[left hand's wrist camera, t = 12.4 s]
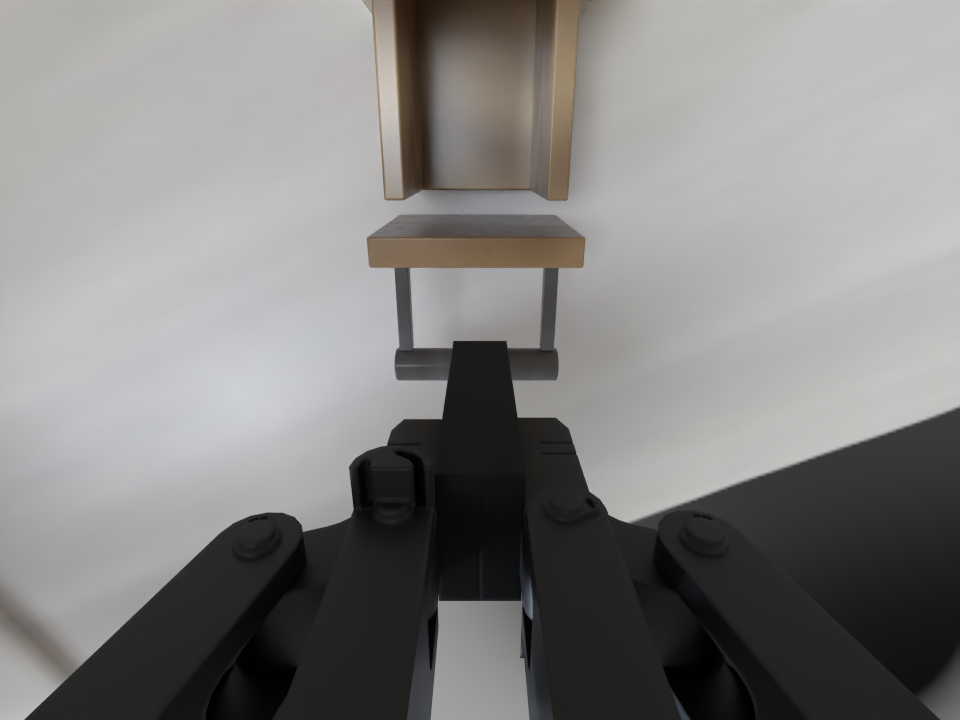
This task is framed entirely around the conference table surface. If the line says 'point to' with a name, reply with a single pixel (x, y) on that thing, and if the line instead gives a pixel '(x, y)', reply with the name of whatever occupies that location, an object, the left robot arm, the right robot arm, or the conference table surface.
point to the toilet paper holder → (475, 149)
